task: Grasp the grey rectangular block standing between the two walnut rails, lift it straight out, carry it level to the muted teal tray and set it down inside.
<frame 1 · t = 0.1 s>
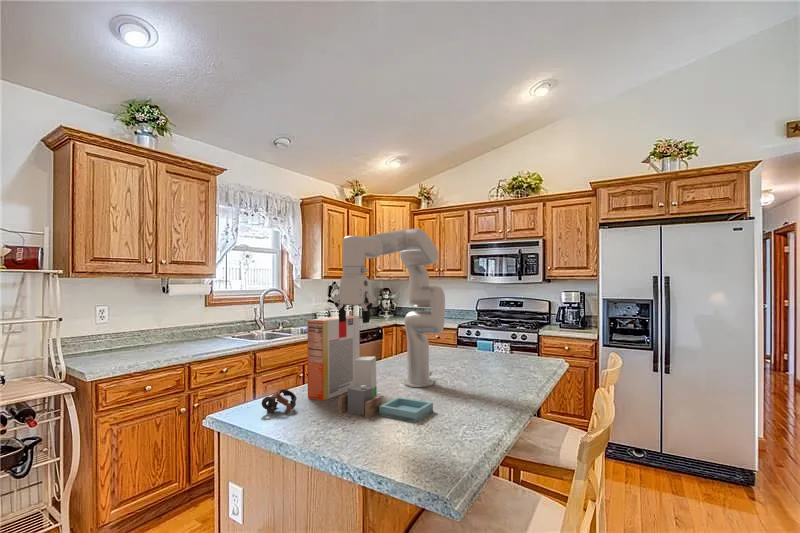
hand: (354, 322, 138), 31 cm above the counter, tool pointing down, fingers open, 9 cm apart
tray: (406, 413, 137), on the counter
cereal box: (335, 392, 165), on the counter
skincare box: (366, 399, 154), on the counter
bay: (360, 411, 140), on the counter
brown looped piece: (278, 412, 141), on the counter
grey rectangular block: (360, 411, 140), on the counter
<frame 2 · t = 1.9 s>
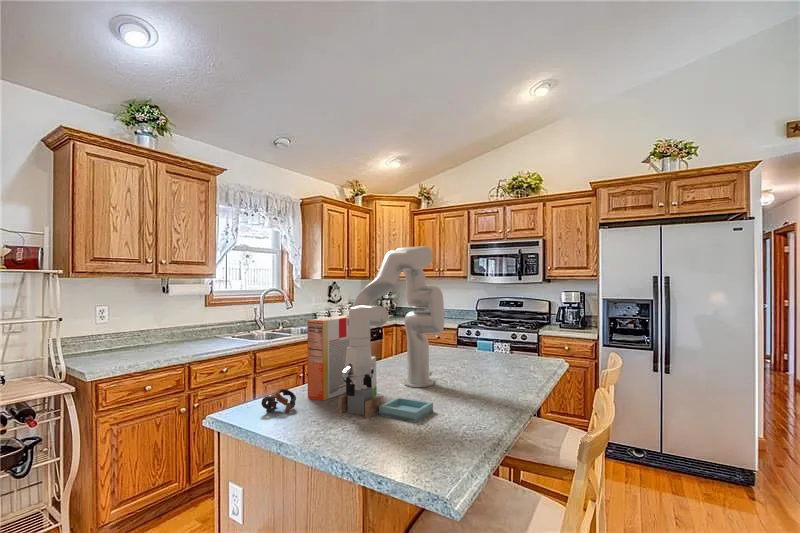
hand: (359, 392, 139), 7 cm above the counter, tool pointing down, fingers open, 9 cm apart
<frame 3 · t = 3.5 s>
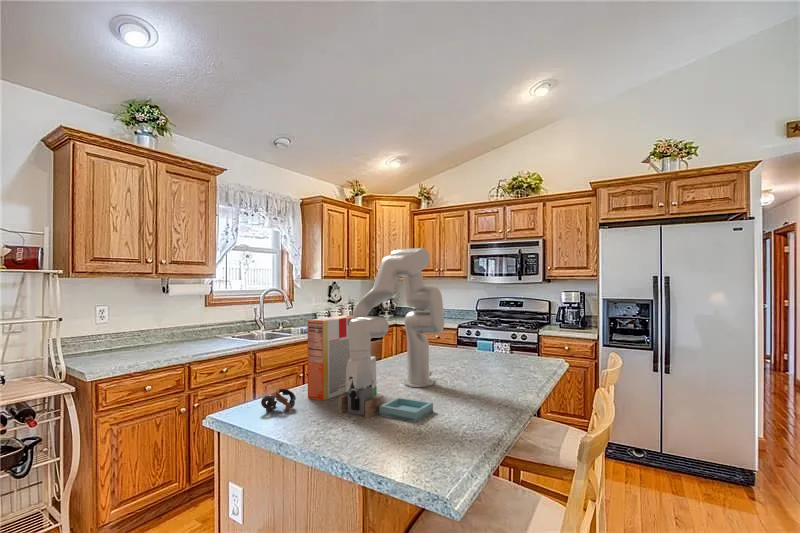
hand: (360, 407, 140), 1 cm above the counter, tool pointing down, fingers closed on grey rectangular block, 5 cm apart
grey rectangular block: (360, 411, 139), on the counter, touching gripper
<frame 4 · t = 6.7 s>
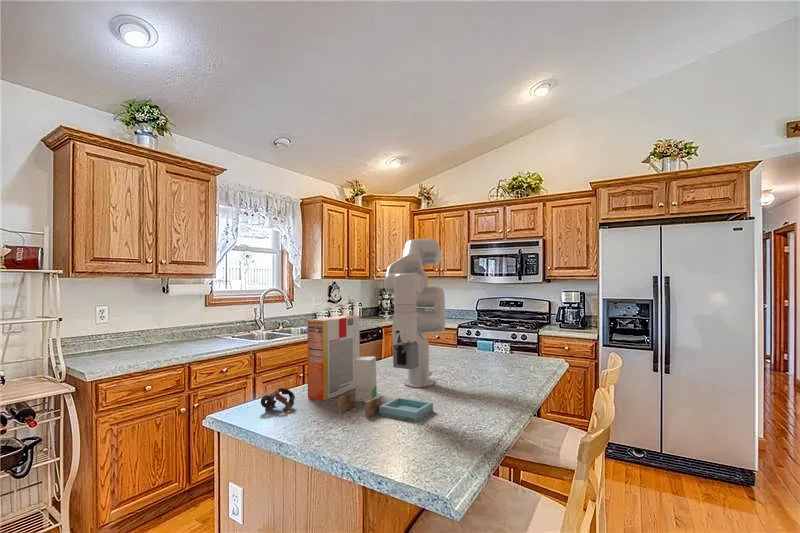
hand: (405, 362, 138), 17 cm above the counter, tool pointing down, fingers closed on grey rectangular block, 5 cm apart
grey rectangular block: (405, 366, 138), point 16 cm above the counter, touching gripper
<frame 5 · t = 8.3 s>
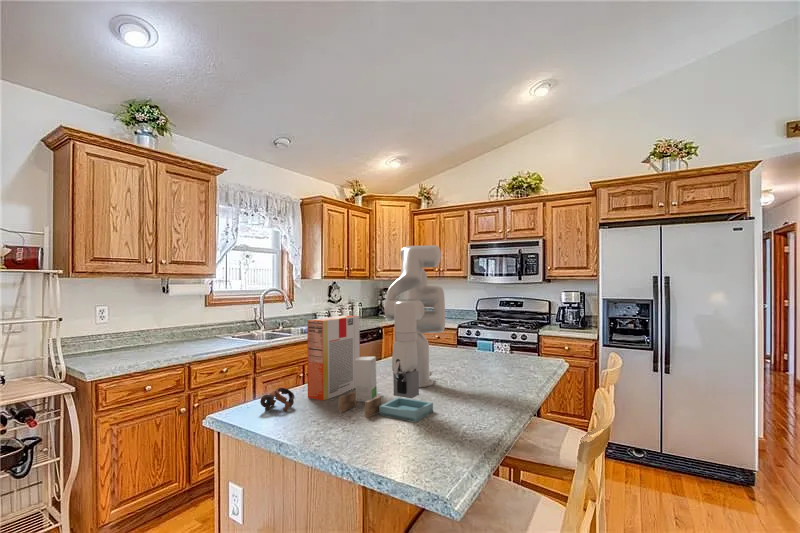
hand: (406, 390, 137), 8 cm above the counter, tool pointing down, fingers closed on grey rectangular block, 5 cm apart
grey rectangular block: (406, 395, 137), point 6 cm above the counter, touching gripper
when the fingers open (4 cm above the counter, at t = 9.9 s): grey rectangular block drops 1 cm, resting on tray.
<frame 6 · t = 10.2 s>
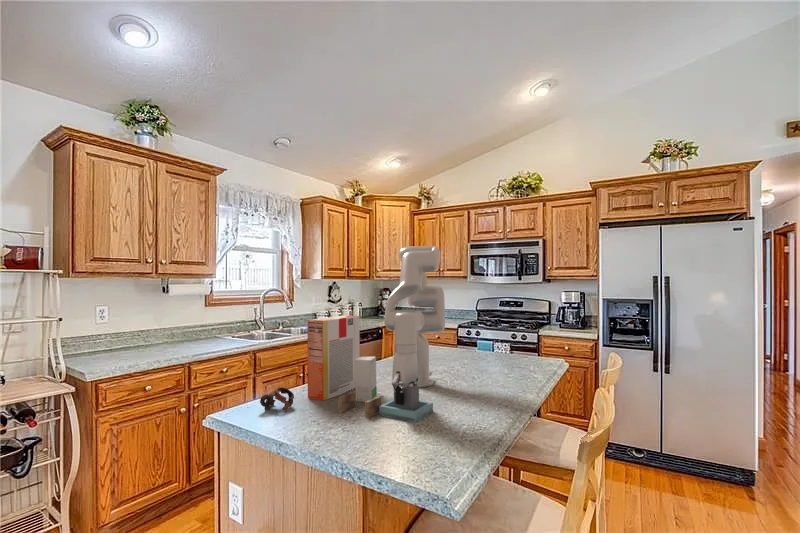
hand: (406, 400, 137), 4 cm above the counter, tool pointing down, fingers open, 7 cm apart
grey rectangular block: (406, 410, 137), point 1 cm above the counter, touching tray
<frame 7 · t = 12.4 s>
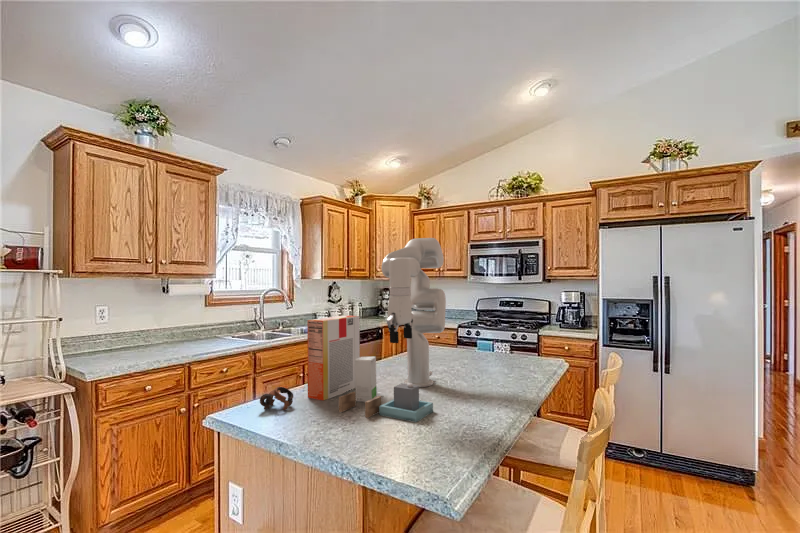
hand: (401, 340, 144), 24 cm above the counter, tool pointing down, fingers open, 9 cm apart
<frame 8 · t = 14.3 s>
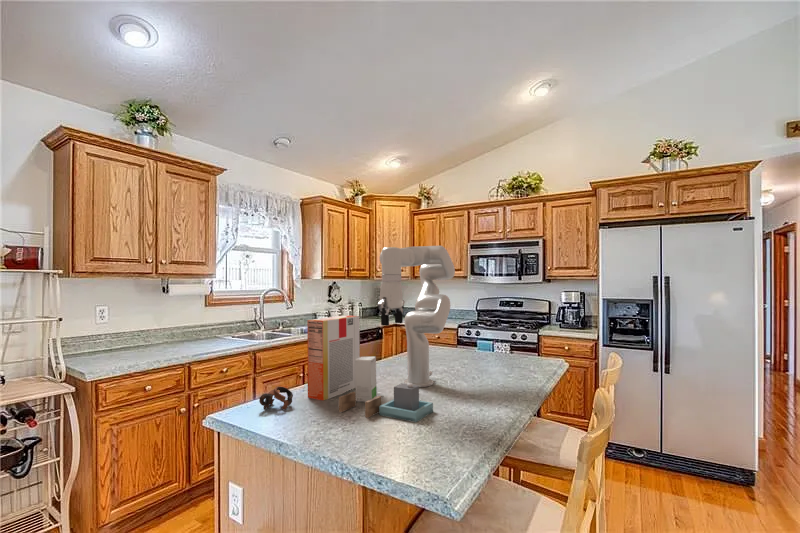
hand: (392, 324, 155), 28 cm above the counter, tool pointing down, fingers open, 9 cm apart
at the end: grey rectangular block inside the target area on the tray (0.2 cm from its centre), point 1.0 cm above the tray's base; grey rectangular block tilted 0°; the gripper is holding nothing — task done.
